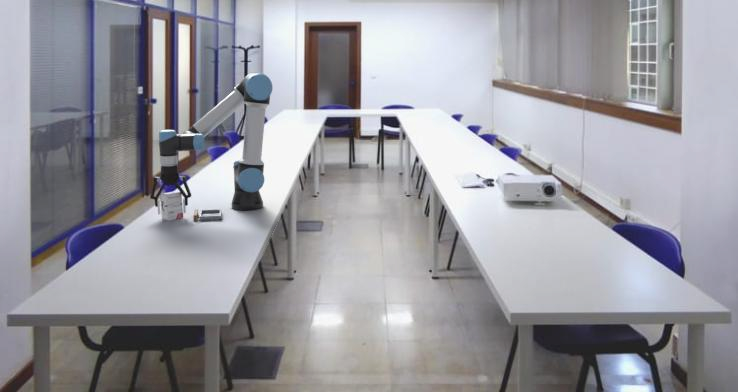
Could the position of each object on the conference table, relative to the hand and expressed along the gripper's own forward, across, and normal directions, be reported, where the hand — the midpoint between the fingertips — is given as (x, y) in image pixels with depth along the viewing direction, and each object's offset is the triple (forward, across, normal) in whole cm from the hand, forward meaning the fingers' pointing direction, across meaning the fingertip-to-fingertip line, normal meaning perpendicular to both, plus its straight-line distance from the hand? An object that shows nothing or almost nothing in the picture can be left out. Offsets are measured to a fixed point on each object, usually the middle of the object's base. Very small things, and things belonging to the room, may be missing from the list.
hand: (172, 213), depth 321 cm
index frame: (+2, -17, +1) cm, 17 cm away
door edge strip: (+2, -10, +1) cm, 11 cm away
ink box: (+3, 0, 0) cm, 3 cm away
